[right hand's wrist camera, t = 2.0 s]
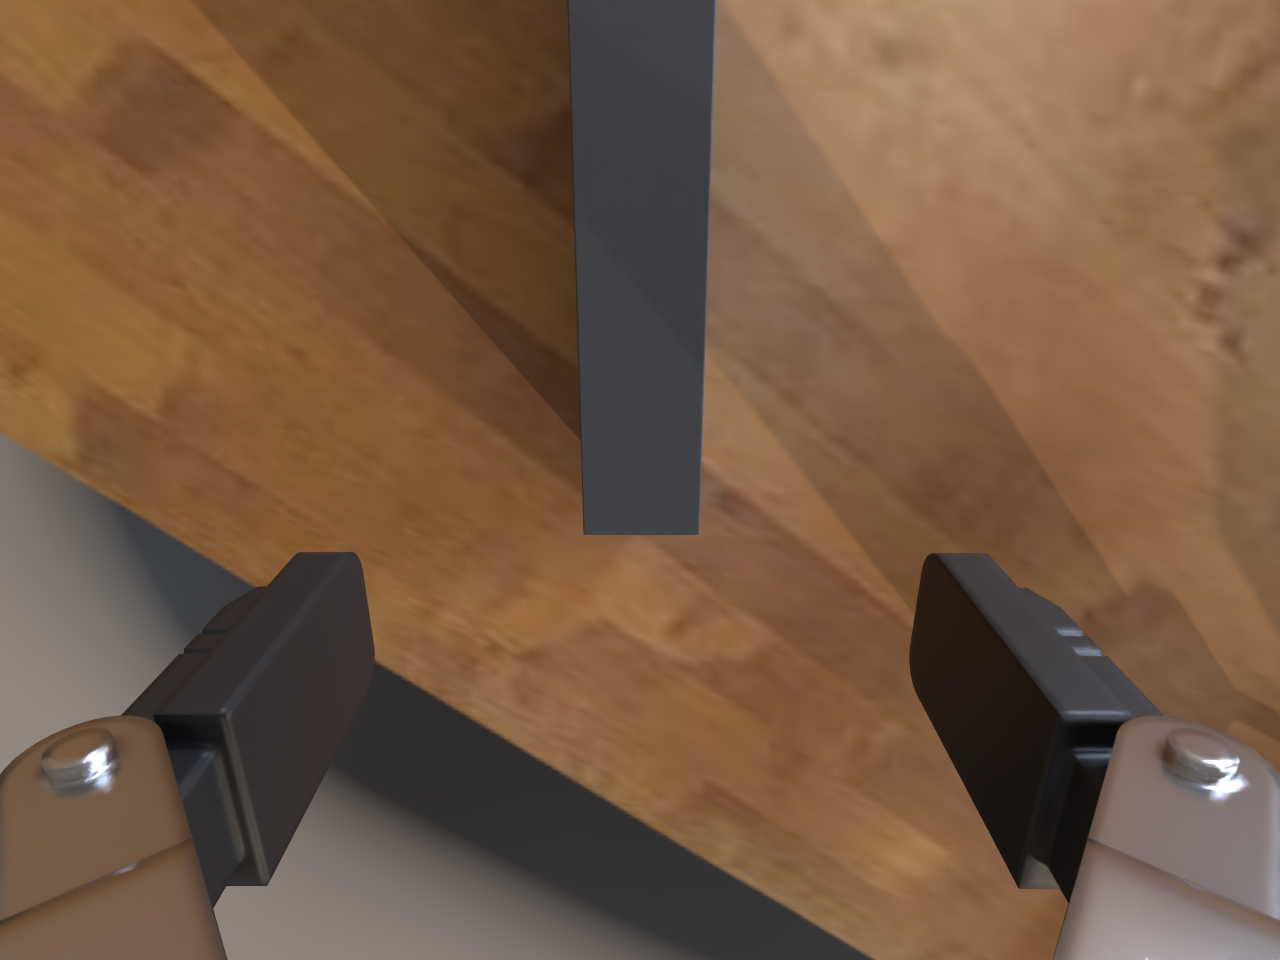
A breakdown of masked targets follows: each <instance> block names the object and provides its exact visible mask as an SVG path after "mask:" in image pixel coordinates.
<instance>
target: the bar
mask: <svg viewBox="0 0 1280 960" xmlns="http://www.w3.org/2000/svg"><path fill="white" fill-rule="evenodd" d="M715 17H716V0H568V30H569V64H570V97H571V130H572V163H573V196H574V230H575V263H576V296H577V329H578V362H579V396H580V429H581V462H582V495H583V528H584V535H699V523H700V492H701V460H702V428H703V397H704V365H705V334H706V302H707V270H708V239H709V207H710V176H711V144H712V112H713V81H714V49H715Z"/></svg>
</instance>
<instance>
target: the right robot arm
mask: <svg viewBox="0 0 1280 960" xmlns="http://www.w3.org/2000/svg"><path fill="white" fill-rule="evenodd" d="M909 657H910V672H911V678H912V682H913V686H914V689H915V691H916V694H917V696H918V698H919V700H920V701H921V703H922V705H923V707H924V709H925V711H926V713H927V715H928V717H929V719H930V721H931V722H932V724H933V726H934V728H935V730H936V732H937V734H938V736H939V738H940V740H941V741H942V743H943V745H944V747H945V749H946V751H947V753H948V755H949V757H950V759H951V760H952V762H953V764H954V766H955V768H956V770H957V772H958V774H959V776H960V778H961V780H962V781H963V783H964V785H965V787H966V789H967V791H968V793H969V795H970V797H971V799H972V800H973V802H974V804H975V806H976V808H977V810H978V812H979V814H980V816H981V818H982V819H983V821H984V823H985V825H986V827H987V829H988V831H989V833H990V835H991V837H992V839H993V840H994V842H995V844H996V846H997V848H998V850H999V852H1000V854H1001V856H1002V858H1003V859H1004V861H1005V863H1006V865H1007V867H1008V869H1009V871H1010V873H1011V875H1012V877H1013V878H1014V880H1015V882H1016V884H1017V886H1018V888H1019V889H1061V891H1062V893H1063V894H1064V896H1065V898H1066V899H1067V901H1068V903H1069V904H1068V907H1067V911H1066V914H1065V918H1064V921H1063V925H1062V928H1061V932H1060V935H1059V939H1058V942H1057V946H1056V949H1055V953H1054V957H1053V960H1280V774H1279V773H1278V771H1277V770H1276V769H1275V768H1274V767H1273V766H1272V765H1271V764H1270V763H1269V762H1268V761H1267V760H1266V759H1265V758H1264V757H1263V756H1261V755H1260V754H1259V753H1258V752H1256V751H1255V750H1253V749H1252V748H1250V747H1249V746H1247V745H1246V744H1244V743H1243V742H1241V741H1239V740H1237V739H1235V738H1234V737H1232V736H1230V735H1228V734H1225V733H1223V732H1221V731H1219V730H1217V729H1214V728H1211V727H1209V726H1206V725H1203V724H1200V723H1197V722H1193V721H1190V720H1186V719H1181V718H1176V717H1169V716H1164V715H1163V714H1162V713H1161V712H1160V711H1159V710H1158V709H1157V708H1156V707H1155V706H1154V705H1153V704H1152V703H1151V702H1150V701H1149V700H1148V699H1147V697H1146V696H1145V695H1144V694H1143V693H1142V692H1141V691H1140V690H1139V689H1138V688H1137V687H1136V686H1135V685H1134V684H1133V683H1132V682H1131V681H1130V680H1129V679H1128V678H1127V677H1126V676H1125V674H1124V673H1123V672H1122V671H1121V670H1120V669H1119V668H1118V667H1117V666H1116V665H1115V664H1114V663H1113V662H1112V661H1111V660H1110V659H1109V658H1108V657H1107V656H1102V650H1101V649H1100V648H1099V647H1098V646H1097V645H1096V644H1095V643H1094V642H1093V641H1092V640H1091V639H1090V638H1089V637H1088V636H1083V631H1082V629H1081V628H1080V627H1079V626H1078V625H1077V624H1076V623H1075V622H1074V621H1073V620H1072V619H1071V618H1070V617H1069V616H1068V615H1067V614H1066V613H1065V612H1064V611H1063V610H1062V609H1061V608H1060V607H1058V606H1057V605H1055V604H1053V603H1052V602H1050V601H1048V600H1046V599H1045V598H1043V597H1041V596H1040V595H1038V594H1036V593H1034V592H1033V591H1031V590H1029V589H1028V588H1018V587H1017V586H1016V585H1015V584H1014V583H1013V582H1012V580H1011V579H1010V578H1009V577H1008V576H1007V575H1006V574H1005V573H1004V572H1003V570H1002V569H1001V568H1000V567H999V566H998V565H997V564H996V563H995V562H994V560H993V559H992V558H991V557H990V556H989V555H987V554H983V553H932V554H929V555H928V556H927V558H926V559H925V562H924V564H923V568H922V573H921V579H920V586H919V592H918V599H917V605H916V612H915V618H914V625H913V631H912V638H911V644H910V656H909ZM374 658H375V654H374V642H373V636H372V629H371V623H370V616H369V609H368V603H367V596H366V590H365V583H364V576H363V570H362V565H361V562H360V560H359V557H358V556H357V555H356V554H355V553H353V552H299V553H297V554H296V555H295V556H294V557H293V558H292V559H291V560H290V561H289V562H288V563H287V565H286V566H285V567H284V568H283V569H282V570H281V571H280V572H279V574H278V575H277V576H276V577H275V578H274V579H273V580H272V581H271V582H270V584H269V585H268V586H267V587H257V588H255V589H253V590H251V591H250V592H248V593H246V594H245V595H243V596H241V597H240V598H238V599H236V600H234V601H233V602H231V603H229V604H228V605H226V606H224V607H223V608H222V609H221V610H220V612H219V613H218V614H217V615H216V616H215V617H214V618H213V619H212V620H211V621H210V622H209V623H208V624H207V625H206V626H205V627H204V628H203V632H202V634H198V635H197V636H196V637H195V638H194V639H193V640H192V641H191V642H190V643H189V644H188V645H187V646H186V648H185V649H184V654H179V655H178V656H177V657H176V658H175V659H174V660H173V661H172V662H171V663H170V664H169V665H168V666H167V667H166V669H165V670H164V671H163V672H162V673H161V674H160V675H159V676H158V677H157V678H156V679H155V680H154V681H153V682H152V683H151V684H150V685H149V686H148V688H147V689H146V690H145V691H144V692H143V693H142V694H141V695H140V696H139V697H138V698H137V699H136V700H135V701H134V702H133V703H132V704H131V705H130V707H129V708H128V709H127V710H126V711H125V712H124V713H123V714H122V715H121V716H111V717H104V718H99V719H94V720H90V721H87V722H83V723H80V724H77V725H74V726H71V727H69V728H66V729H63V730H61V731H59V732H57V733H55V734H52V735H50V736H48V737H46V738H45V739H43V740H41V741H39V742H37V743H36V744H34V745H33V746H31V747H30V748H28V749H27V750H25V751H24V752H22V753H21V754H20V755H19V756H17V757H16V758H15V759H14V760H13V761H12V762H11V763H10V764H9V765H8V766H7V767H6V768H5V769H4V770H3V772H2V773H1V774H0V960H227V957H226V953H225V949H224V946H223V942H222V939H221V935H220V932H219V928H218V925H217V921H216V918H215V914H214V911H213V908H214V906H215V905H216V903H217V901H218V899H219V898H220V896H221V894H222V892H223V891H224V889H225V887H226V886H267V885H268V883H269V881H270V879H271V878H272V876H273V874H274V872H275V870H276V868H277V866H278V864H279V862H280V860H281V858H282V856H283V854H284V852H285V851H286V849H287V847H288V845H289V843H290V841H291V839H292V837H293V835H294V833H295V831H296V829H297V827H298V825H299V824H300V822H301V820H302V818H303V816H304V814H305V812H306V810H307V808H308V806H309V804H310V802H311V800H312V799H313V797H314V795H315V793H316V791H317V789H318V787H319V785H320V783H321V781H322V779H323V777H324V775H325V774H326V772H327V770H328V768H329V766H330V764H331V762H332V760H333V758H334V756H335V754H336V752H337V750H338V748H339V747H340V745H341V743H342V741H343V739H344V737H345V735H346V733H347V731H348V729H349V727H350V725H351V723H352V722H353V719H354V718H355V716H356V714H357V712H358V710H359V708H360V706H361V704H362V702H363V700H364V698H365V696H366V695H367V693H368V690H369V688H370V685H371V681H372V677H373V671H374Z"/></svg>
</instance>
